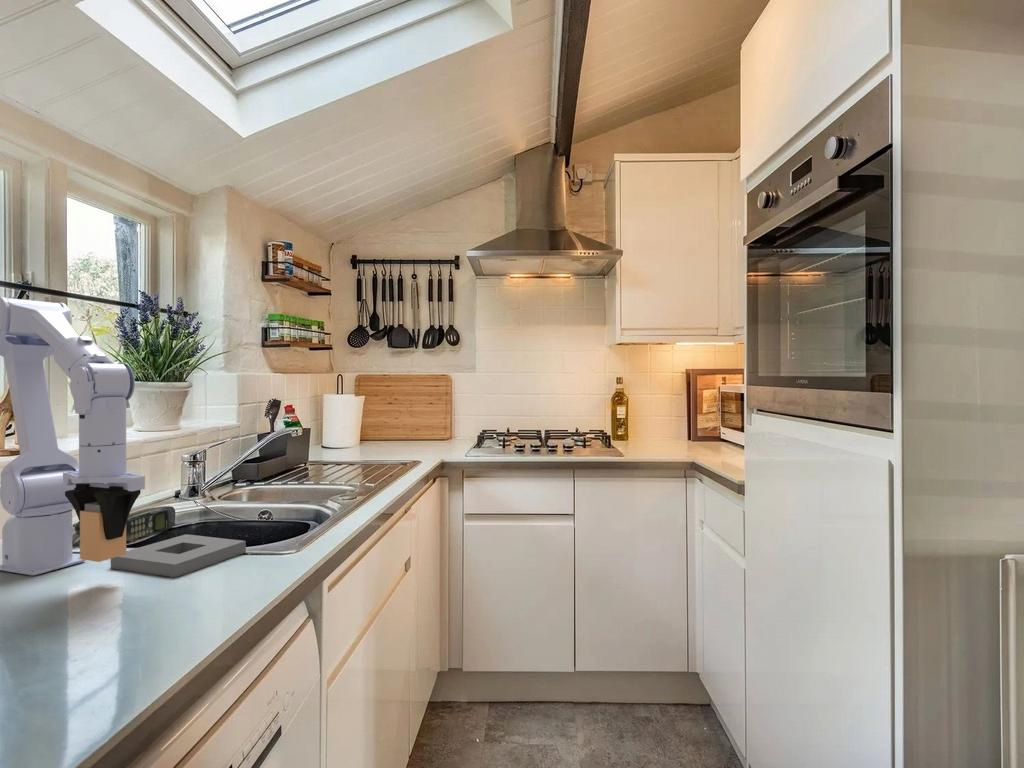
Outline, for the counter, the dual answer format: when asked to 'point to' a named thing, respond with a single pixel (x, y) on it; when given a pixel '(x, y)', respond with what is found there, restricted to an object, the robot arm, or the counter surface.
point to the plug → (97, 536)
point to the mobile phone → (149, 522)
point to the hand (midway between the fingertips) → (103, 536)
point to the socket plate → (178, 555)
